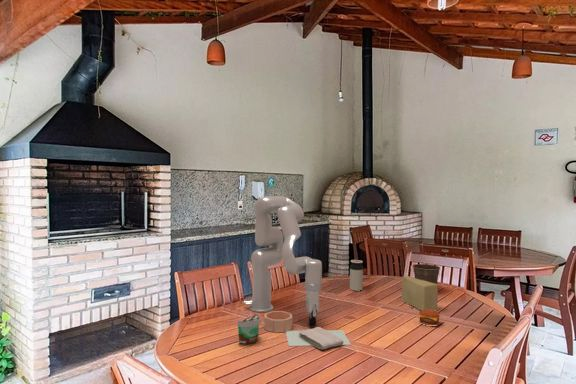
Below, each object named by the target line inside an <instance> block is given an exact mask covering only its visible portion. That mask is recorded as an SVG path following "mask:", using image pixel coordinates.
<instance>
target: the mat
mask: <svg viewBox="0 0 576 384" xmlns="http://www.w3.org/2000/svg"><path fill="white" fill-rule="evenodd" d="M325 330H326V331H328V332H330V333H332V334H334V335H335V336H337V337H339V338H341V339H342V340H343V342H344V343H343V344H342V345H341V346H352V343H351V342H350V340H349V339H348V337H347V335H346V334H345V331H344V330H343V329H333V330H332V329H331V330H330V329H329V330H328V329H325ZM300 331H301V330H290V331H286V332H285V335H286V340H287V345H288V347H315V346H314V345H312V344H310V343H308V342H307V341H306V340H303V339H302V338H300V336H299V332H300Z"/></svg>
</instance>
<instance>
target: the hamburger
mask: <svg viewBox="0 0 576 384" xmlns="http://www.w3.org/2000/svg"><path fill="white" fill-rule="evenodd" d="M418 314H419V315H418V316H417V318H419V321H418V322H420V323H422V324H425V325H438V324H439V325H440V322H439V321H440V317H441V314H440V313H439V312H438V311H434V310H430V309H424V310H422V311H420V310H419V313H418ZM420 323H419V324H420ZM422 324H421V325H422Z"/></svg>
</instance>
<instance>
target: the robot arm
mask: <svg viewBox="0 0 576 384" xmlns="http://www.w3.org/2000/svg"><path fill="white" fill-rule="evenodd" d="M254 204H255V205H254V214H255V224H254V225H255V227H254V229H255V230H254V231H255V232H254V241H255V244H256V246H258V247H264V248H258V249H256V250H254V251H253V252H252V253H251V257H250V260H251V266H252V298H251V299H250V300H243V304H244V305H245V306H249V310H250V311H252V312H256V313H268V312H271V311H274V305H273V304H272V303H271V301H272V298H271V297H272V296H271V295H272V294H271V293H272V273H271V271H270V269H269V267H270V266H274V265H278V264H280V263H281V262H283V265H284V267H285V271H286V272H287V273H288V274H289V275H292V276H296V275H299V274H304V275H305V276H304V277H305V278H304V279H305V281H304V290H305V291H306V292H305V293H306V294H305V297H306V298H305V308H306V313H308V316H309V317H308V326H309V327H314V328H315V327H317V314H318V313H319V310H320V309H319V308H320V292H321V291H322V278H323V277H322V274H323V263H322V261H321V260H320V259H316V258H311V257H309V256H300V257H295V255H294V252H293V251H294V250H293V248H294V244H295V242H296V241H297V240H298V239H299V238H300V237H301V236H302V232H301V229H300V225H299V222H301V221H302V220H303V219H304V218H305V217H304V216H305V213H304V209H303V208H302V206H300V204H298V203H297V202H294V201H293V200H292V199H290V198H289V197H286V196H285V195H284V196H282V195H277V196H276V195H274V196H273V195H270V196H269V195H267V196H263V197H260V198H258V199H257V200H256V202H255V203H254ZM271 213H272V214H273V213H276V216H277V218H278V219H277V220H278V222H279V225H280V227H277V226H273V223H272V222H273V221H272V220H273V219H272V217H271ZM280 228H281V229H280Z"/></svg>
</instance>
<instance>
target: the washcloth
mask: <svg viewBox="0 0 576 384" xmlns="http://www.w3.org/2000/svg"><path fill="white" fill-rule="evenodd" d="M326 330H327V329H324V328H323V327H321V326H314V328H309V329H308V328H307V329H303V330H299V331H300V332H299V336H300V338H302V339H303V340H306V341H307V342H308V343H310V344H312V345H314V346H313V347H315V348H317V349H319V350H327V349H330V348H334V347H338V346H343V345H342V344H343V343H344V342H343V340H342V339H341V338H339V337H337V336H335V335H334V334H332V333H330V332H328V331H326Z"/></svg>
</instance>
